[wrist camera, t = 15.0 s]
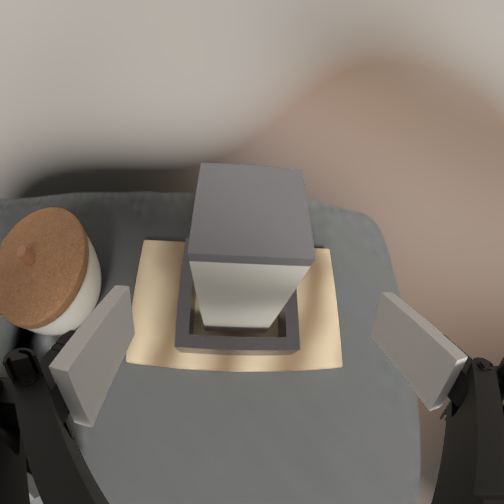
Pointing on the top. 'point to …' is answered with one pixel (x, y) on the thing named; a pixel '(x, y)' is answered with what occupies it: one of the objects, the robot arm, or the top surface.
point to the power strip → (248, 244)
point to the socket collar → (228, 344)
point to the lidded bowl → (48, 273)
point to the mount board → (164, 324)
